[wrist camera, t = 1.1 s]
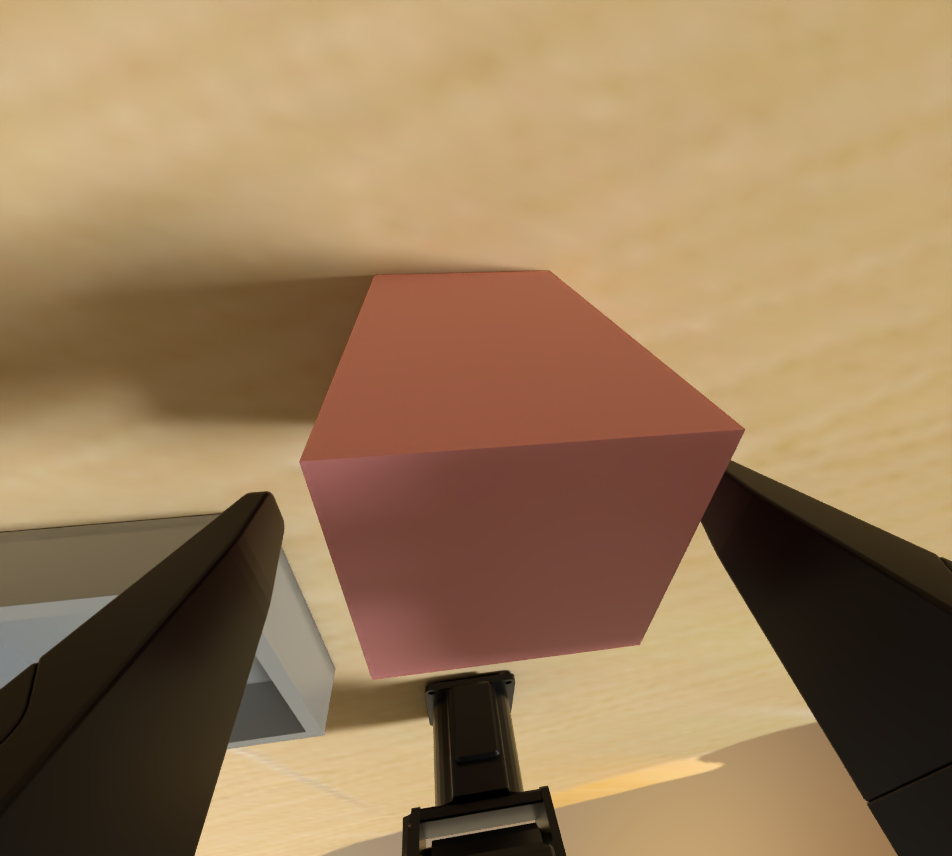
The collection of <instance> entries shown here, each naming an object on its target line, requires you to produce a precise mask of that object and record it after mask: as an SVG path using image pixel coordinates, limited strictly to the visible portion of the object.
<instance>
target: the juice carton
mask: <svg viewBox="0 0 952 856" xmlns="http://www.w3.org/2000/svg"><path fill="white" fill-rule="evenodd" d="M744 431H745V429H744V428H743V427H742V426H741V425H739V424H738V423H737V422H736V421H735V420H733V419H732V418H731V417H730V416H728V415H727V414H726V413H725V412H723V411H722V410H721V409H720V408H718V407H717V406H716V405H715V404H714V403H712V402H711V401H710V400H709V399H707V398H706V397H705V396H704V395H702V394H701V393H700V392H699V391H698V390H696V389H695V388H694V387H693V386H691V385H690V384H689V383H688V382H686V381H685V380H684V379H683V378H681V377H680V376H679V375H678V374H677V373H675V372H674V371H673V370H672V369H670V368H669V367H668V366H667V365H665V364H664V363H663V362H662V361H660V360H659V359H658V358H657V357H656V356H654V355H653V354H652V353H651V352H649V351H648V350H647V349H646V348H644V347H643V346H642V345H641V344H639V343H638V342H637V341H636V340H635V339H633V338H632V337H631V336H630V335H628V334H627V333H626V332H625V331H623V330H622V329H621V328H620V327H619V326H617V325H616V324H615V323H614V322H612V321H611V320H610V319H609V318H607V317H606V316H605V315H604V314H602V313H601V312H600V311H599V310H598V309H596V308H595V307H594V306H593V305H591V304H590V303H589V302H588V301H586V300H585V299H584V298H583V297H581V296H580V295H579V294H578V293H577V292H575V291H574V290H573V289H572V288H570V287H569V286H568V285H567V284H565V283H564V282H563V281H562V280H561V279H559V278H558V277H557V276H556V275H554V274H553V273H552V272H551V271H515V272H474V273H434V274H394V275H374V278H373V280H372V283H371V285H370V288H369V290H368V293H367V295H366V298H365V300H364V302H363V305H362V307H361V310H360V312H359V315H358V317H357V320H356V322H355V325H354V327H353V330H352V332H351V335H350V337H349V340H348V342H347V345H346V347H345V350H344V352H343V355H342V357H341V360H340V362H339V365H338V367H337V369H336V372H335V374H334V377H333V379H332V382H331V384H330V387H329V389H328V392H327V394H326V397H325V399H324V402H323V404H322V407H321V409H320V412H319V414H318V417H317V419H316V422H315V424H314V427H313V429H312V431H311V434H310V436H309V439H308V441H307V444H306V446H305V449H304V451H303V454H302V456H301V459H300V461H299V462H300V465H301V468H302V471H303V474H304V477H305V480H306V483H307V486H308V489H309V492H310V495H311V498H312V501H313V504H314V507H315V510H316V513H317V516H318V519H319V522H320V525H321V528H322V531H323V534H324V537H325V540H326V543H327V546H328V549H329V552H330V555H331V558H332V561H333V564H334V567H335V570H336V573H337V576H338V579H339V582H340V585H341V588H342V591H343V594H344V597H345V600H346V603H347V606H348V609H349V612H350V615H351V618H352V621H353V624H354V627H355V630H356V633H357V636H358V639H359V642H360V645H361V648H362V651H363V654H364V657H365V660H366V663H367V666H368V669H369V672H370V675H371V678H372V680H375V679H383V678H390V677H398V676H406V675H413V674H421V673H428V672H436V671H444V670H451V669H459V668H467V667H474V666H482V665H489V664H497V663H505V662H512V661H520V660H528V659H535V658H543V657H550V656H558V655H566V654H573V653H581V652H589V651H596V650H604V649H611V648H619V647H627V646H634V645H640V643H641V641H642V639H643V637H644V635H645V633H646V631H647V629H648V627H649V625H650V623H651V621H652V619H653V617H654V615H655V613H656V611H657V609H658V607H659V605H660V602H661V600H662V598H663V596H664V594H665V592H666V590H667V588H668V586H669V584H670V582H671V580H672V578H673V576H674V574H675V572H676V570H677V568H678V566H679V564H680V562H681V560H682V558H683V556H684V554H685V551H686V549H687V547H688V545H689V543H690V541H691V539H692V537H693V535H694V533H695V531H696V529H697V527H698V525H699V523H700V521H701V519H702V517H703V515H704V513H705V511H706V509H707V507H708V505H709V503H710V501H711V498H712V496H713V494H714V492H715V490H716V488H717V486H718V484H719V482H720V480H721V478H722V476H723V474H724V472H725V470H726V468H727V466H728V464H729V462H730V460H731V458H732V456H733V454H734V452H735V450H736V447H737V445H738V443H739V441H740V439H741V437H742V435H743V433H744Z"/></svg>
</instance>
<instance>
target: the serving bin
mask: <svg viewBox="0 0 952 856" xmlns="http://www.w3.org/2000/svg"><path fill="white" fill-rule="evenodd" d="M219 515H220V514H215V515H203V516H192V517H180V518H168V519H156V520H144V521H132V522H120V523H109V524H97V525H85V526H73V527H61V528H49V529H38V530H26V531H14V532H2V533H0V689H1V688H2V687H3V686H5V685H6V684H7V683H9V682H10V681H11V680H12V679H14V678H15V677H16V676H17V675H19V674H20V673H21V672H22V671H24V670H25V669H26V668H27V667H29V666H30V665H31V664H33V663H38V661H39V659H40V657H41V656H43V655H44V654H45V653H46V652H48V651H49V650H50V649H51V648H53V647H54V646H55V645H57V644H58V643H59V642H60V641H62V640H63V639H64V638H65V637H67V636H68V635H69V634H70V633H72V632H73V631H74V630H75V629H77V628H78V627H79V626H80V625H82V624H83V623H84V622H86V621H87V620H88V619H89V618H91V617H92V616H93V615H94V614H96V613H97V612H98V611H99V610H101V609H102V608H103V607H104V606H106V605H107V604H108V603H109V602H111V601H112V600H113V599H114V598H116V597H117V596H118V595H119V594H121V593H122V592H123V591H125V590H126V589H127V588H128V587H130V586H131V585H132V584H133V583H135V582H136V581H137V580H138V579H140V578H141V577H142V576H143V575H145V574H146V573H147V572H148V571H150V570H151V569H152V568H153V567H155V566H156V565H157V564H158V563H160V562H161V561H162V560H163V559H165V558H166V557H167V556H169V555H170V554H171V553H172V552H174V551H175V550H176V549H177V548H179V547H180V546H181V545H182V544H184V543H185V542H186V541H187V540H189V539H190V538H191V537H192V536H194V535H195V534H196V533H197V532H199V531H200V530H201V529H202V528H204V527H205V526H206V525H208V524H209V523H210V522H211V521H213V520H214V519H215V518H216V517H218V516H219ZM334 674H335V667H334V665H333V663H332V660H331V658H330V656H329V654H328V651H327V649H326V647H325V644H324V642H323V640H322V638H321V635H320V633H319V631H318V629H317V626H316V624H315V622H314V620H313V617H312V615H311V613H310V610H309V608H308V606H307V604H306V601H305V599H304V597H303V595H302V592H301V590H300V588H299V585H298V583H297V581H296V579H295V576H294V574H293V572H292V570H291V567H290V565H289V563H288V560H287V558H286V556H285V554H284V551H283V549H282V547H281V551H280V556H279V562H278V567H277V573H276V578H275V583H274V589H273V594H272V599H271V604H270V607H269V611H268V615H267V618H266V621H265V625H264V628H263V631H262V635H261V638H260V641H259V645H258V648H257V651H256V654H255V658H254V661H253V664H252V668H251V671H250V674H249V677H248V681H247V684H246V687H245V691H244V694H243V697H242V700H241V704H240V707H239V710H238V714H237V717H236V720H235V724H234V727H233V730H232V733H231V737H230V740H229V743H228V747H227V749H231V748H238V747H245V746H252V745H259V744H266V743H273V742H280V741H287V740H294V739H301V738H308V737H315V736H322V735H324V734H325V728H326V722H327V716H328V710H329V704H330V698H331V692H332V686H333V680H334Z"/></svg>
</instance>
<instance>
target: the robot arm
mask: <svg viewBox="0 0 952 856" xmlns="http://www.w3.org/2000/svg"><path fill="white" fill-rule="evenodd" d="M701 523H702V525H703V527H704V529H705V531H706V533H707V535H708V538H709V540H710V542H711V544H712V546H713V548H714V550H715V552H716V554H717V556H718V558H719V559H720V561H721V563H722V565H723V566H724V568H725V570H726V571H727V573H728V575H729V576H730V578H731V580H732V581H733V583H734V584H735V586H736V588H737V589H738V591H739V593H740V594H741V596H742V598H743V599H744V601H745V603H746V604H747V606H748V608H749V609H750V611H751V613H752V614H753V616H754V618H755V619H756V621H757V623H758V624H759V626H760V628H761V629H762V631H763V633H764V634H765V636H766V637H767V639H768V641H769V642H770V644H771V646H772V647H773V649H774V651H775V652H776V654H777V656H778V657H779V659H780V661H781V662H782V664H783V666H784V667H785V669H786V671H787V672H788V674H789V676H790V677H791V679H792V681H793V682H794V684H795V686H796V687H797V689H798V690H799V692H800V694H801V695H802V697H803V699H804V700H805V702H806V704H807V705H808V707H809V709H810V710H811V712H812V714H813V715H814V717H815V719H816V720H817V722H818V724H819V725H820V727H821V729H822V730H823V732H824V734H825V735H826V737H827V738H828V740H829V742H830V743H831V745H832V747H833V748H834V750H835V752H836V753H837V755H838V757H839V758H840V760H841V762H842V763H843V765H844V767H845V768H846V770H847V771H848V773H849V775H850V776H851V778H852V780H853V782H854V783H855V785H856V787H857V788H858V790H859V791H860V793H861V795H862V796H863V798H864V799H865V800H866V801H867V805H868V807H869V809H870V810H871V812H872V814H873V815H874V817H875V819H876V820H877V822H878V824H879V825H880V827H881V829H882V830H883V832H884V834H885V835H886V837H887V839H888V840H889V842H890V843H891V845H892V847H893V848H894V850H895V852H896V853H897V855H898V856H952V561H950V560H948V559H945V558H943V557H938V556H937V555H936V554H934V553H932V552H930V551H928V550H926V549H923V548H921V547H919V546H917V545H915V544H912V543H910V542H908V541H906V540H904V539H902V538H899V537H897V536H895V535H893V534H891V533H888V532H886V531H884V530H882V529H880V528H878V527H875V526H873V525H871V524H869V523H867V522H864V521H862V520H860V519H858V518H856V517H854V516H851V515H849V514H847V513H845V512H843V511H840V510H838V509H836V508H834V507H832V506H830V505H827V504H825V503H823V502H821V501H819V500H816V499H814V498H812V497H810V496H808V495H806V494H803V493H801V492H799V491H797V490H795V489H792V488H790V487H788V486H786V485H784V484H782V483H779V482H777V481H775V480H773V479H771V478H768V477H766V476H764V475H762V474H760V473H758V472H755V471H753V470H751V469H749V468H747V467H744V466H742V465H740V464H738V463H736V462H734V461H731V460H730V462H729V464H728V466H727V468H726V470H725V472H724V474H723V476H722V478H721V480H720V482H719V484H718V486H717V488H716V490H715V492H714V494H713V496H712V498H711V501H710V503H709V505H708V507H707V509H706V511H705V513H704V515H703V517H702V519H701ZM283 534H284V520H283V517H282V515H281V512H280V510H279V508H278V505H277V503H276V500H275V498H274V496H273V494H272V493H271V492H268V491H264V492H251V493H247V494H246V495H244V496H243V497H241V498H240V499H239V500H238V501H236V502H235V503H234V504H233V505H231V506H230V507H229V508H228V509H226V510H225V511H224V512H223V513H221V514H220V515H219V516H218V517H216V518H215V519H214V520H213V521H211V522H210V523H209V524H208V525H206V526H205V527H204V528H202V529H201V530H200V531H199V532H197V533H196V534H195V535H194V536H192V537H191V538H190V539H189V540H187V541H186V542H185V543H184V544H182V545H181V546H180V547H179V548H177V549H176V550H175V551H174V552H172V553H171V554H170V555H169V556H167V557H166V558H165V559H163V560H162V561H161V562H160V563H158V564H157V565H156V566H155V567H153V568H152V569H151V570H150V571H148V572H147V573H146V574H145V575H143V576H142V577H141V578H140V579H138V580H137V581H136V582H135V583H133V584H132V585H131V586H130V587H128V588H127V589H126V590H125V591H123V592H122V593H121V594H119V595H118V596H117V597H116V598H114V599H113V600H112V601H111V602H109V603H108V604H107V605H106V606H104V607H103V608H102V609H101V610H99V611H98V612H97V613H96V614H94V615H93V616H92V617H91V618H89V619H88V620H87V621H86V622H84V623H83V624H82V625H80V626H79V627H78V628H77V629H75V630H74V631H73V632H72V633H70V634H69V635H68V636H67V637H65V638H64V639H63V640H62V641H60V642H59V643H58V644H57V645H55V646H54V647H53V648H51V649H50V650H49V651H48V652H46V653H45V654H44V655H43V656H41V657H40V659H39V661H38V663H33V664H31V665H30V666H29V667H27V668H26V669H25V670H24V671H22V672H21V673H20V674H19V675H17V676H16V677H15V678H14V679H12V680H11V681H10V682H9V683H7V684H6V685H5V686H3V687H2V688H1V689H0V856H194V855H195V852H196V849H197V845H198V842H199V839H200V836H201V832H202V829H203V826H204V822H205V819H206V816H207V812H208V809H209V806H210V803H211V799H212V796H213V793H214V789H215V786H216V783H217V780H218V776H219V773H220V770H221V766H222V763H223V760H224V756H225V753H226V750H227V747H228V743H229V740H230V737H231V733H232V730H233V727H234V724H235V720H236V717H237V714H238V710H239V707H240V704H241V700H242V697H243V694H244V691H245V687H246V684H247V681H248V677H249V674H250V671H251V668H252V664H253V661H254V658H255V654H256V651H257V648H258V645H259V641H260V638H261V635H262V631H263V628H264V625H265V621H266V618H267V615H268V611H269V607H270V604H271V599H272V594H273V589H274V583H275V578H276V573H277V567H278V562H279V556H280V551H281V545H282V540H283ZM514 687H515V678H514V674H511V673H507V674H500V675H492V676H485V677H478V678H470V679H463V680H455V681H448V682H440V683H433V684H428V685H426V686H425V698H426V704H427V710H428V716H429V722H430V725H432V726H433V735H434V774H435V807H429V808H423V809H421V808H420V807H417V808H412V810H411V814H410V815H408V816H406V817H404V818H403V840H402V856H566V853H565V849H564V845H563V842H562V838H561V834H560V830H559V827H558V823H557V819H556V815H555V811H554V807H553V803H552V799H551V795H550V791H549V788H548V786H543V787H539V789H537V790H531V791H525V792H524V791H523V785H522V779H521V773H520V767H519V761H518V755H517V749H516V743H515V737H514V731H513V725H512V719H511V709H512V701H513V694H514ZM531 820H535V821H536V823H531V824H525V825H519V826H514V827H508V828H502V829H497V830H491V831H485V832H479V833H474V834H468V835H463V836H457V837H452V838H446V839H440V840H434V841H432V847H428V848H426V839H429V838H435V837H441V836H446V835H452V834H457V833H463V832H469V831H474V830H481V829H486V828H492V827H497V826H503V825H509V824H515V823H520V822H526V821H531Z"/></svg>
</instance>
